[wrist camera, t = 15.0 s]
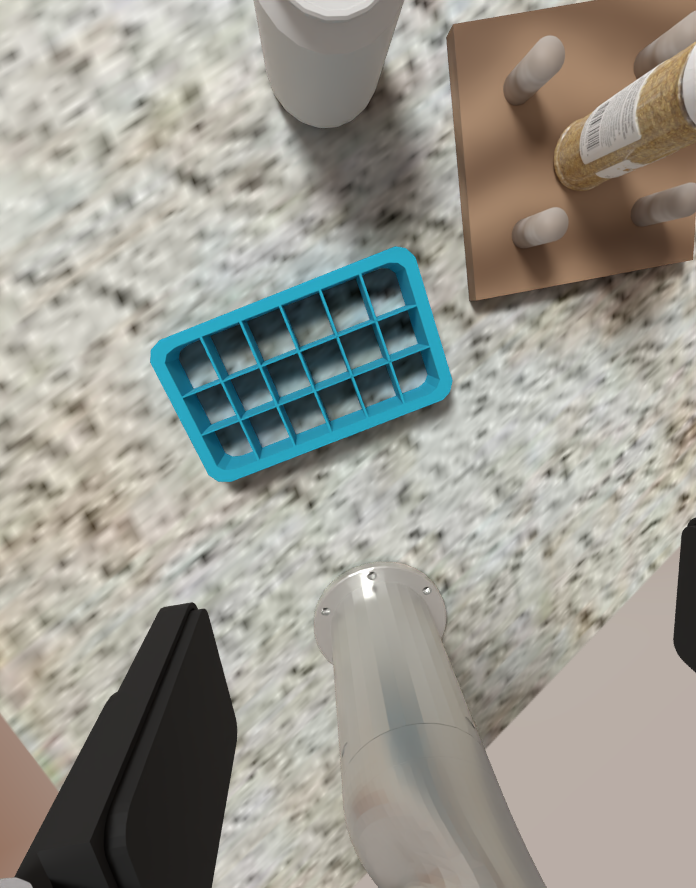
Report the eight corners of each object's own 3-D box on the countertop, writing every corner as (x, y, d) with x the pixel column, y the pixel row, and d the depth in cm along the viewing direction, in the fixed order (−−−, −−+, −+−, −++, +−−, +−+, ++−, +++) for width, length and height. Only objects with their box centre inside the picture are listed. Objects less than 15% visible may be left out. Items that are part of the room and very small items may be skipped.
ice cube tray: (445, 387, 38) (456, 394, 35) (222, 474, 38) (215, 487, 35) (401, 245, 34) (410, 240, 31) (155, 343, 35) (142, 346, 32)
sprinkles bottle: (589, 204, 33) (771, 141, 20) (538, 171, 32) (695, 82, 19) (626, 139, 32) (844, 28, 19) (574, 103, 31) (767, -40, 18)
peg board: (677, 261, 36) (740, 254, 31) (469, 300, 35) (497, 300, 30) (690, -5, 31) (769, -68, 25) (446, 37, 30) (475, -19, 25)
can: (268, -12, 29) (242, -222, 17) (384, 8, 29) (433, -180, 18) (263, 124, 31) (237, 19, 19) (371, 140, 32) (408, 48, 20)
